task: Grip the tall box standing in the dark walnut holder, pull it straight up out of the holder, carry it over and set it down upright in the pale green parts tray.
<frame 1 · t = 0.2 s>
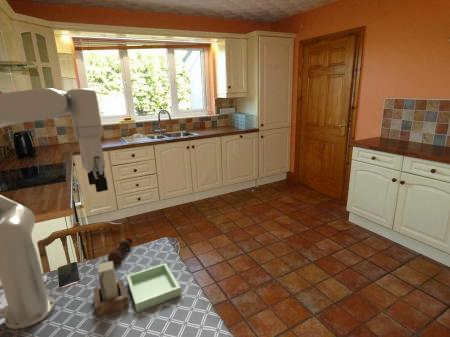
hand: (98, 187, 86), 36 cm above the table, tool pointing down, fingers open, 9 cm apart
holder: (111, 301, 88), on the table
tray: (153, 289, 93), on the table
bolt: (123, 254, 115), on the table
box: (111, 302, 88), resting in holder
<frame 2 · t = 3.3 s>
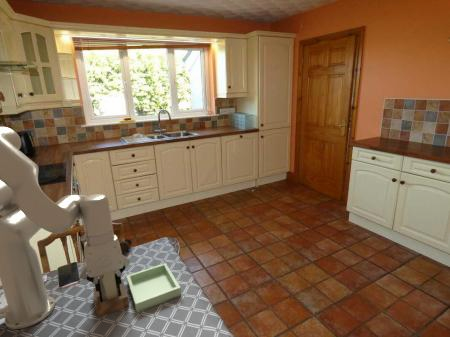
hand: (109, 288, 86), 5 cm above the table, tool pointing down, fingers closed on box, 4 cm apart
box: (111, 302, 88), resting in holder, touching gripper
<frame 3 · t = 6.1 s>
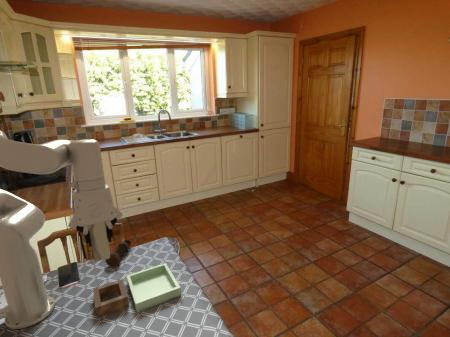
hand: (100, 241, 82), 21 cm above the table, tool pointing down, fingers closed on box, 4 cm apart
box: (102, 257, 84), point 16 cm above the table, touching gripper
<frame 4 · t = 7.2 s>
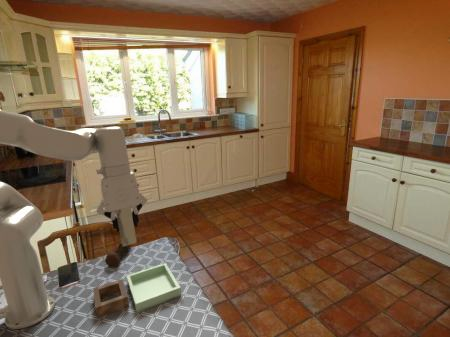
hand: (126, 227, 84), 24 cm above the table, tool pointing down, fingers closed on box, 4 cm apart
box: (129, 242, 86), point 19 cm above the table, touching gripper
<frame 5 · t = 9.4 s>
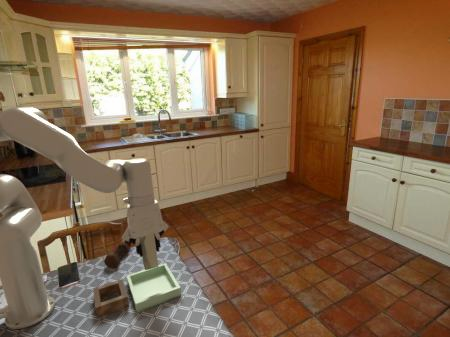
hand: (148, 251, 89), 14 cm above the table, tool pointing down, fingers closed on box, 4 cm apart
box: (151, 265, 90), point 9 cm above the table, touching gripper
when the fingers open (7 cm above the table, at t = 11.1 s): box drops 1 cm, resting on tray.
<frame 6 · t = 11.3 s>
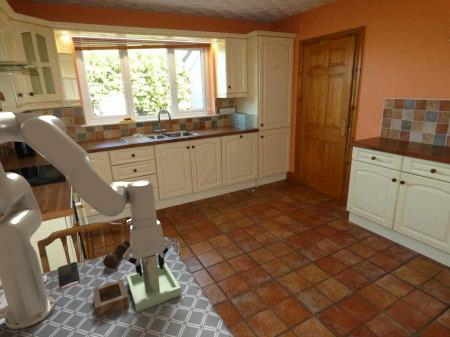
hand: (150, 270, 91), 7 cm above the table, tool pointing down, fingers open, 6 cm apart
box: (152, 288, 92), resting on tray
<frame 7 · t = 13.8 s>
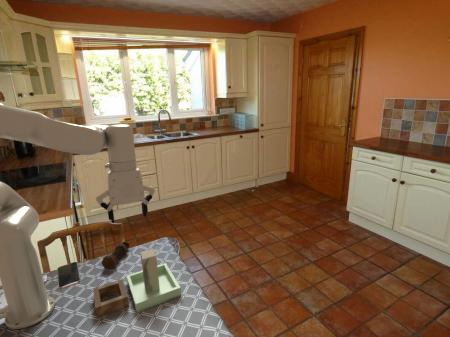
hand: (129, 218, 88), 25 cm above the table, tool pointing down, fingers open, 9 cm apart
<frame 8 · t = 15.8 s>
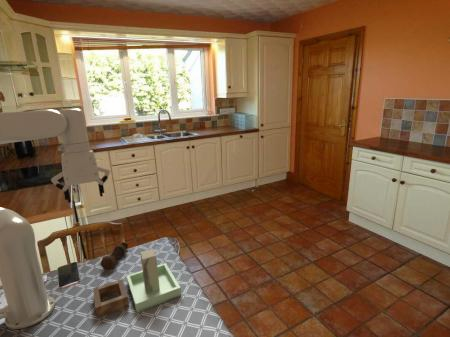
hand: (85, 198, 93), 30 cm above the table, tool pointing down, fingers open, 9 cm apart
at the end: box inside the target area on the tray (0.3 cm from its centre), point 0.4 cm above the tray's base; box tilted 0°; the gripper is holding nothing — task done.
